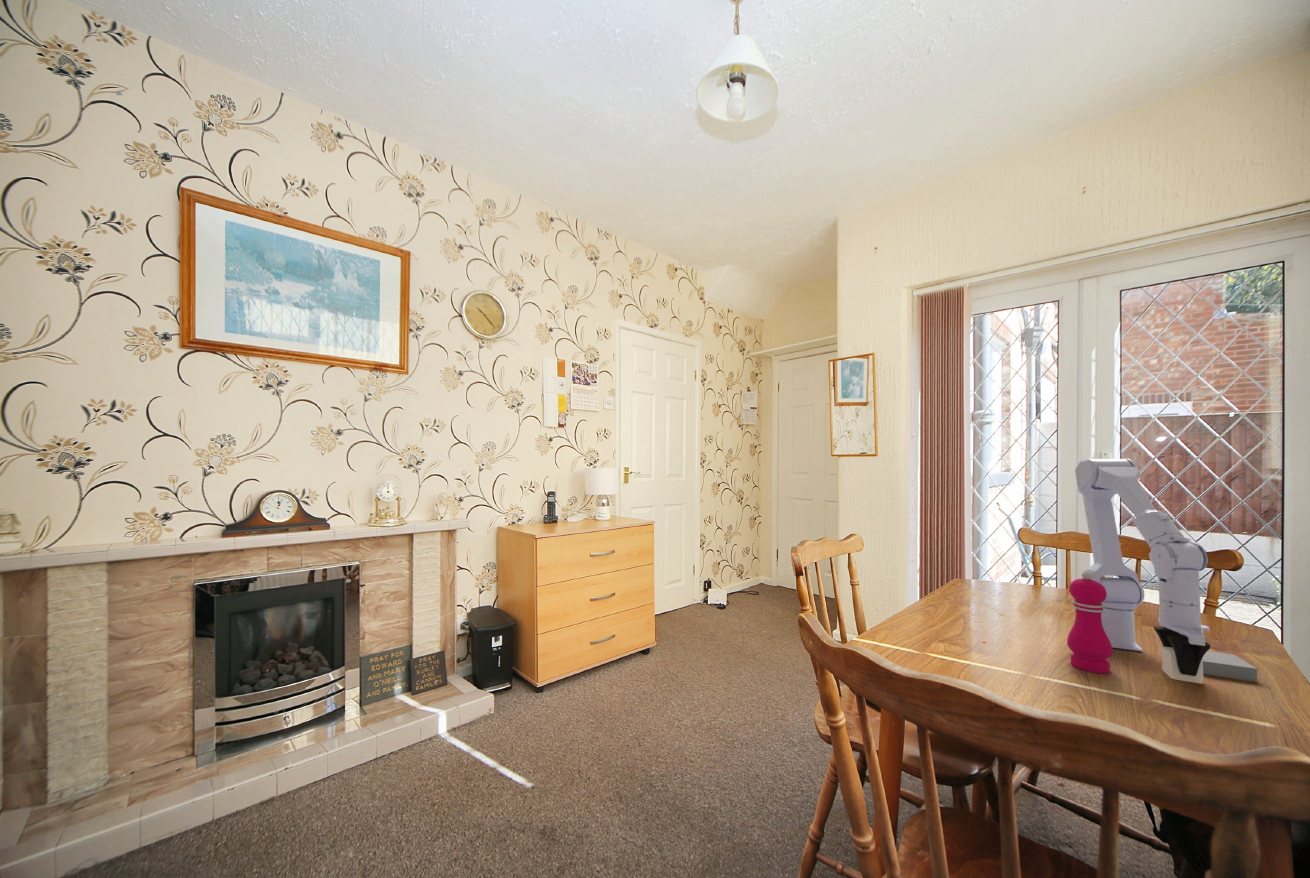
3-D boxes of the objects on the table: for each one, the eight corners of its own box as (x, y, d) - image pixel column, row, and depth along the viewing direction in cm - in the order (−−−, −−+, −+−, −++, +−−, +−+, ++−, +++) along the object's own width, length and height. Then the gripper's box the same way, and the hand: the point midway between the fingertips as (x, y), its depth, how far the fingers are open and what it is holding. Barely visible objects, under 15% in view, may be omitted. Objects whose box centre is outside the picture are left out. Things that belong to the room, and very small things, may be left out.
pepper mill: (1122, 676, 100) (1119, 576, 100) (1081, 673, 101) (1078, 574, 102) (1098, 661, 107) (1095, 568, 107) (1060, 659, 108) (1057, 567, 109)
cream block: (1171, 678, 98) (1170, 653, 99) (1162, 670, 102) (1161, 646, 103) (1203, 683, 96) (1202, 658, 96) (1192, 675, 100) (1191, 650, 100)
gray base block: (1200, 675, 101) (1199, 660, 101) (1182, 661, 108) (1181, 647, 108) (1257, 684, 97) (1256, 668, 97) (1235, 669, 104) (1234, 654, 104)
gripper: (1226, 614, 92) (1230, 688, 91) (1189, 595, 104) (1192, 660, 104) (1174, 609, 95) (1177, 680, 94) (1144, 591, 108) (1147, 654, 107)
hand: (1182, 669), depth 99 cm, fingers closed on cream block, 4 cm apart
